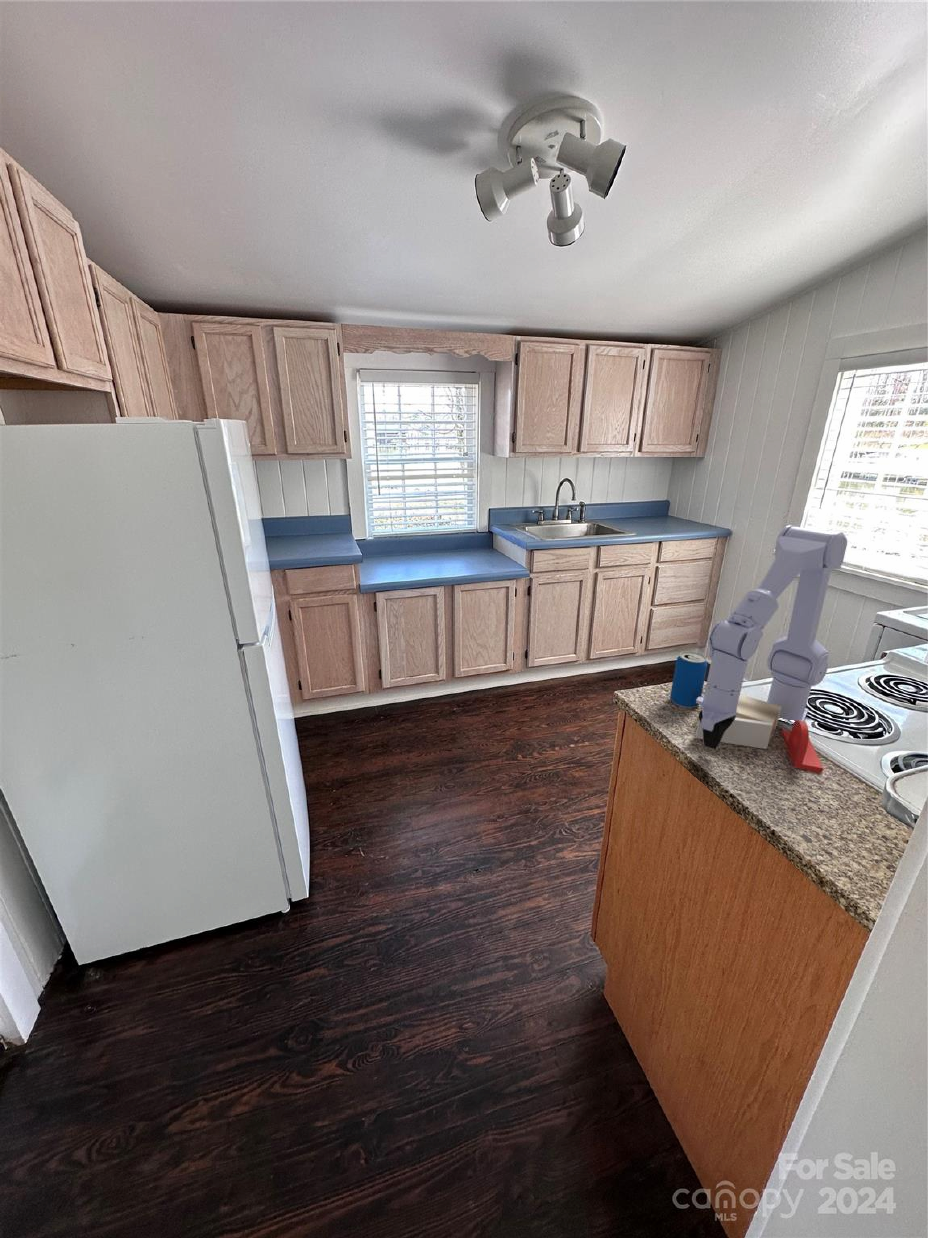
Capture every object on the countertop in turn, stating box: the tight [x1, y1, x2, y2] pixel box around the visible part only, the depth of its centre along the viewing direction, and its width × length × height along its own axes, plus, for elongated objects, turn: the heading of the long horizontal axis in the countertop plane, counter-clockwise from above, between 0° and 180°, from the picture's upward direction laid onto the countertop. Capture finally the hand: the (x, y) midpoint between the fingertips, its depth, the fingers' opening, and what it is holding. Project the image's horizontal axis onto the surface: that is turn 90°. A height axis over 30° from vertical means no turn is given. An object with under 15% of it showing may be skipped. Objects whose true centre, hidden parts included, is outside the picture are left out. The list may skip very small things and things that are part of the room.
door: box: [695, 718, 773, 750], centre depth 99 cm, size 1×13×6 cm, turn 74°
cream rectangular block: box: [700, 693, 782, 744], centre depth 105 cm, size 9×13×6 cm
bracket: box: [781, 720, 824, 774], centre depth 96 cm, size 12×4×8 cm, turn 159°
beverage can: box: [669, 651, 708, 709], centre depth 113 cm, size 6×6×12 cm
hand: (710, 746), depth 96 cm, fingers closed
